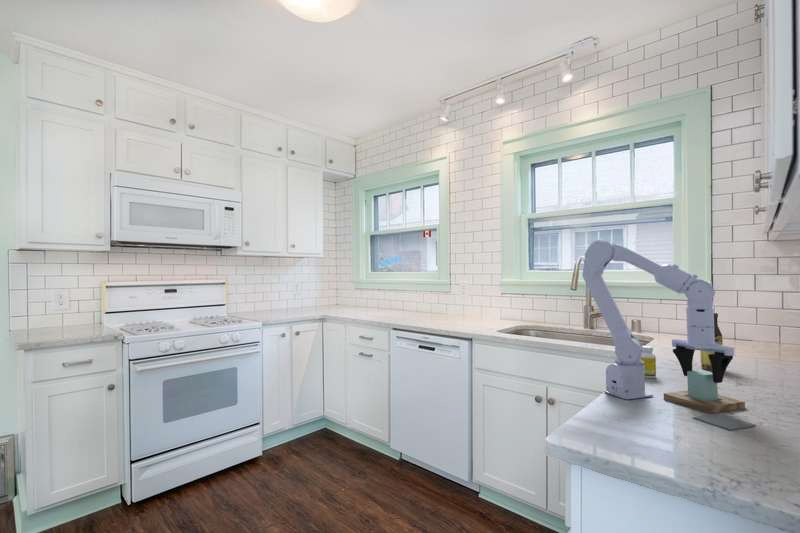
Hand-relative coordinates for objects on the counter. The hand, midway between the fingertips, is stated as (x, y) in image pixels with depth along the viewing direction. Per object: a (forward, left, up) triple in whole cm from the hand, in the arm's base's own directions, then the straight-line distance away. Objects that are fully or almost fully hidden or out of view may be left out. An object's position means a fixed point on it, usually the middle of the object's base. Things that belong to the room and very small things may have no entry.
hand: (702, 378), depth 104 cm
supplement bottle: (+11, +27, -7) cm, 30 cm away
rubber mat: (-9, -11, -6) cm, 16 cm away
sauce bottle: (+41, +27, -7) cm, 50 cm away
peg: (0, 0, -6) cm, 6 cm away
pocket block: (0, 0, -6) cm, 6 cm away
